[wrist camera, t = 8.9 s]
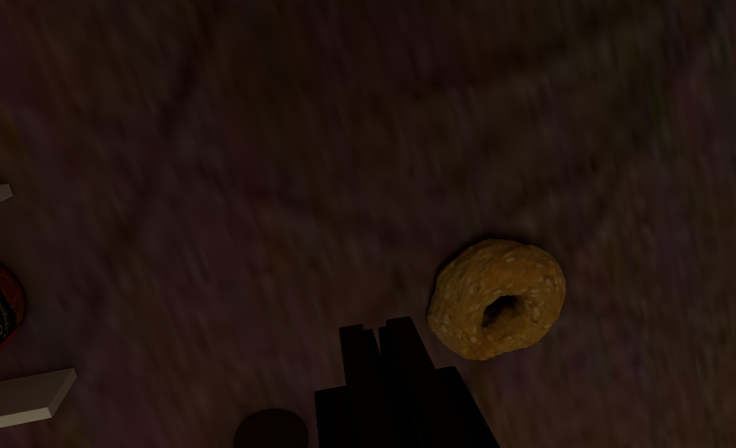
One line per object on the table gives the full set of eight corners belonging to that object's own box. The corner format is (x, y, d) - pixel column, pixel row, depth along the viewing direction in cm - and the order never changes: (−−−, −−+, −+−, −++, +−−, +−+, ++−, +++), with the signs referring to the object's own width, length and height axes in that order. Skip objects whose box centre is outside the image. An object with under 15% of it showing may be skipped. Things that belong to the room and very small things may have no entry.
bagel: (401, 277, 38) (418, 304, 34) (522, 207, 38) (555, 226, 34) (451, 366, 42) (473, 402, 37) (562, 303, 42) (597, 331, 38)
